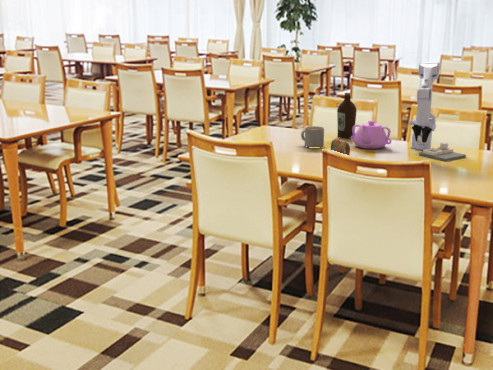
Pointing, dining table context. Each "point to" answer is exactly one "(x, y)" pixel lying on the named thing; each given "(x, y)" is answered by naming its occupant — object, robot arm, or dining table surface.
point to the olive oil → (346, 117)
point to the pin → (420, 140)
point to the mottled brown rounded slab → (340, 146)
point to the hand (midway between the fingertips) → (421, 141)
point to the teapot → (370, 135)
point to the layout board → (442, 153)
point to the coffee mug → (313, 136)
